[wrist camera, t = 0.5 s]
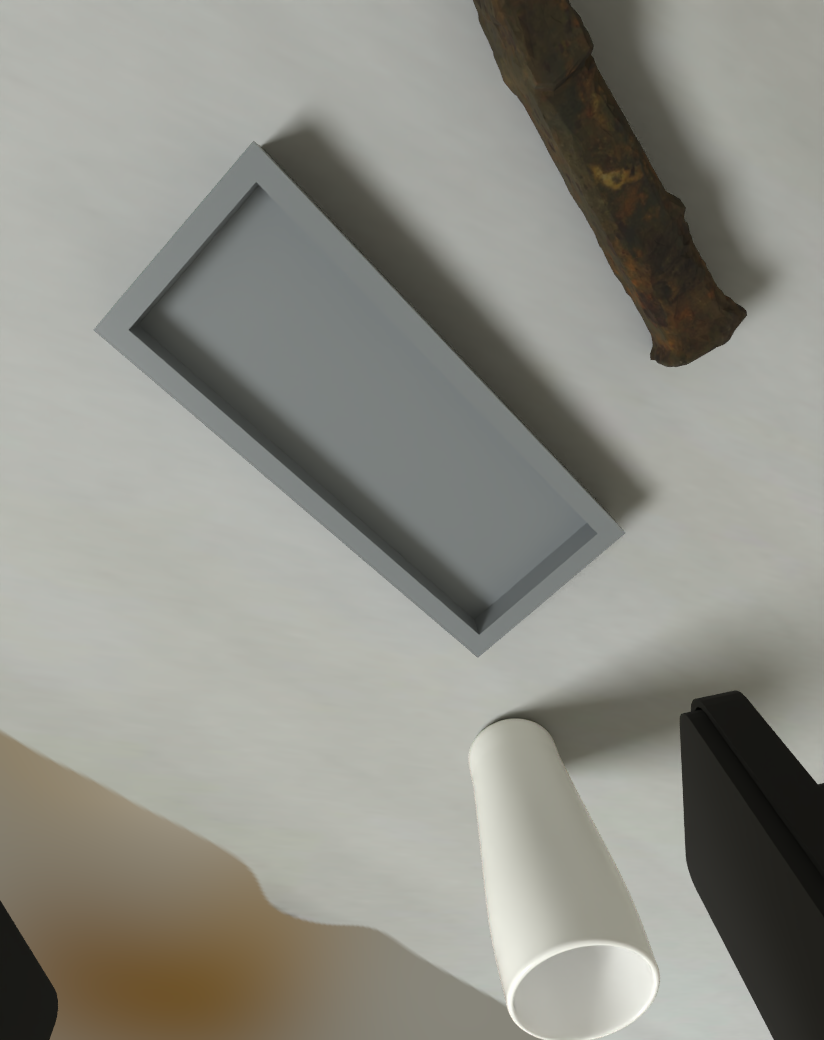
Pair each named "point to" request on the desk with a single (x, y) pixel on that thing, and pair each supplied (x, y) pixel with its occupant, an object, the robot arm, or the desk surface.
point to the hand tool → (609, 176)
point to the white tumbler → (554, 894)
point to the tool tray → (355, 406)
